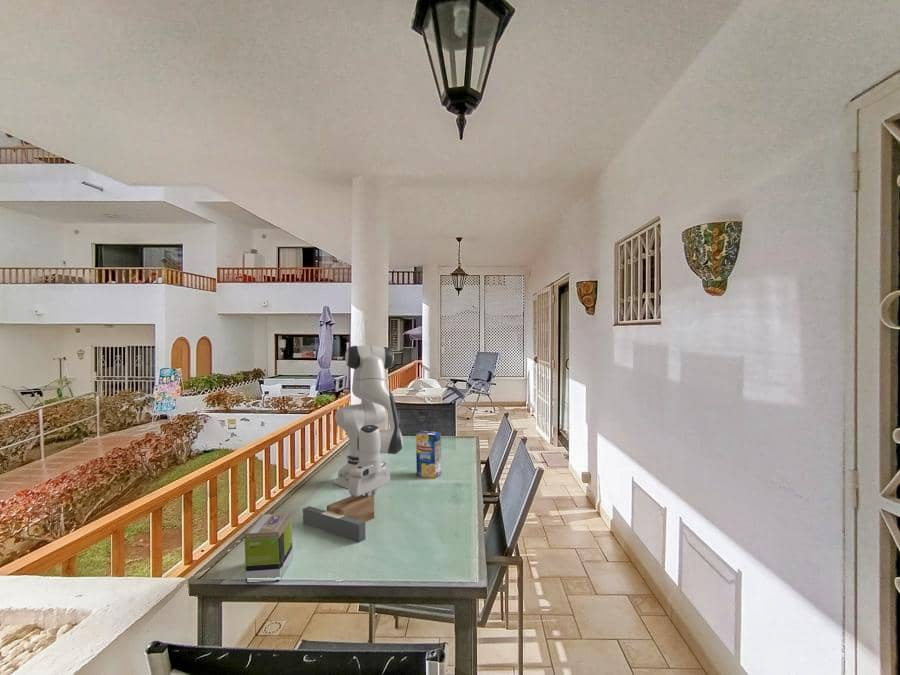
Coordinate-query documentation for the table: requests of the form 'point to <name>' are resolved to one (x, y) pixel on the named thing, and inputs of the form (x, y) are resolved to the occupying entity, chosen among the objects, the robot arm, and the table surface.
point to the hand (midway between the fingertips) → (370, 501)
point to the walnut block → (354, 507)
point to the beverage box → (428, 454)
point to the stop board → (334, 523)
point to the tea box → (268, 546)
